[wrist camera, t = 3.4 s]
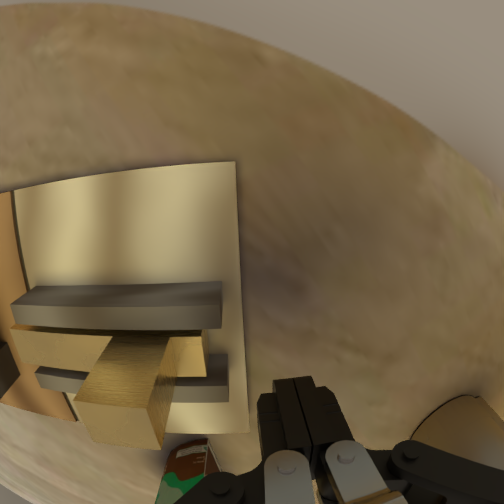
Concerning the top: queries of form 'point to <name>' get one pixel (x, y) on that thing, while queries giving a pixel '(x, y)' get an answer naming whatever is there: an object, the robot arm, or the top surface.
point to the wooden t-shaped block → (119, 375)
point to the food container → (186, 469)
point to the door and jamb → (127, 281)
